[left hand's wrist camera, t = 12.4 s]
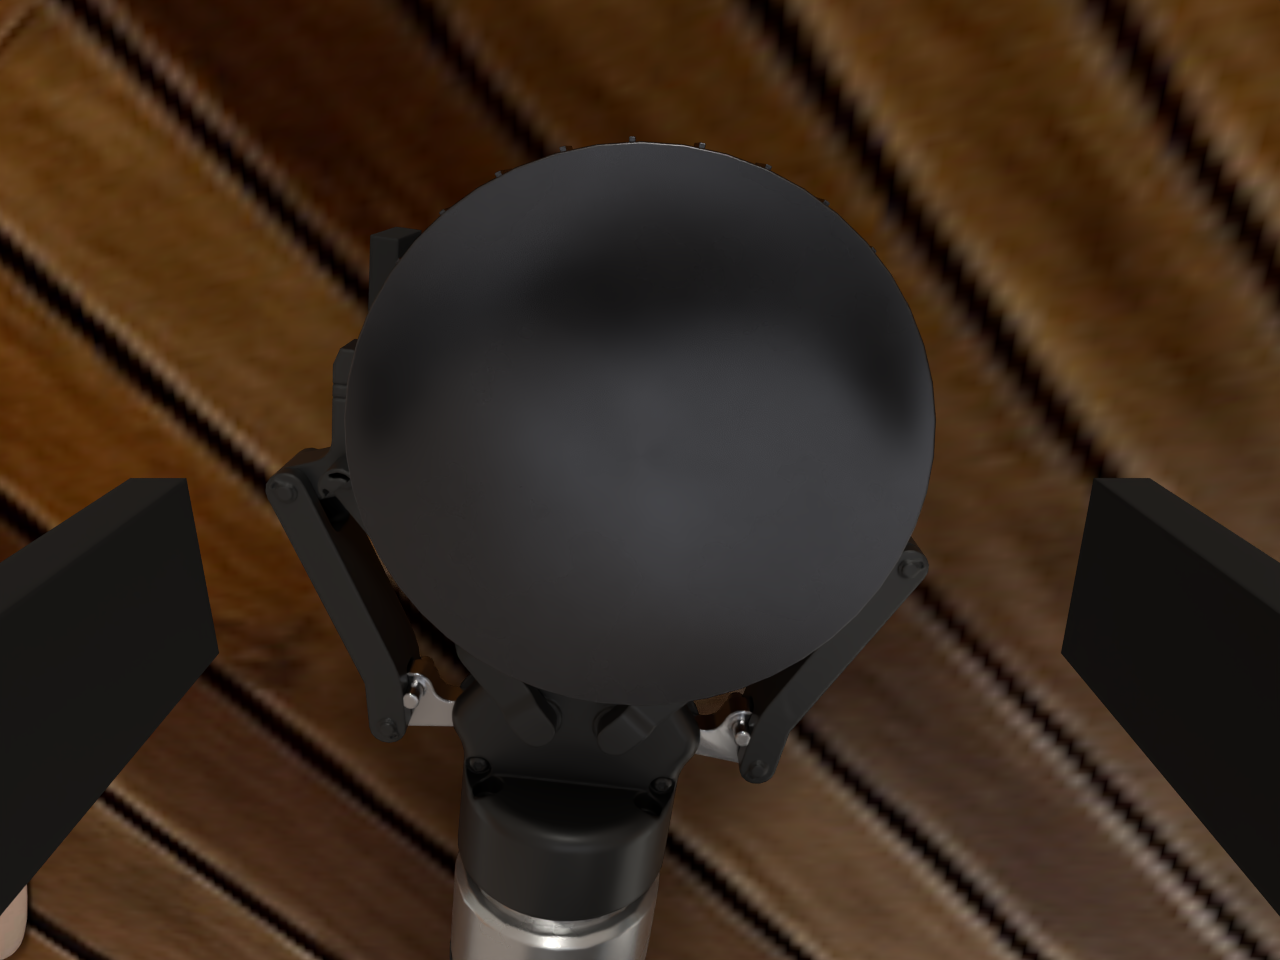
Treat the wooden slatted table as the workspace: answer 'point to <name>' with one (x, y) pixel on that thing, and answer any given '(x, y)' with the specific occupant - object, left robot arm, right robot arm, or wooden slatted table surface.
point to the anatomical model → (13, 925)
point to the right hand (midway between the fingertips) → (636, 263)
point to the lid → (639, 423)
